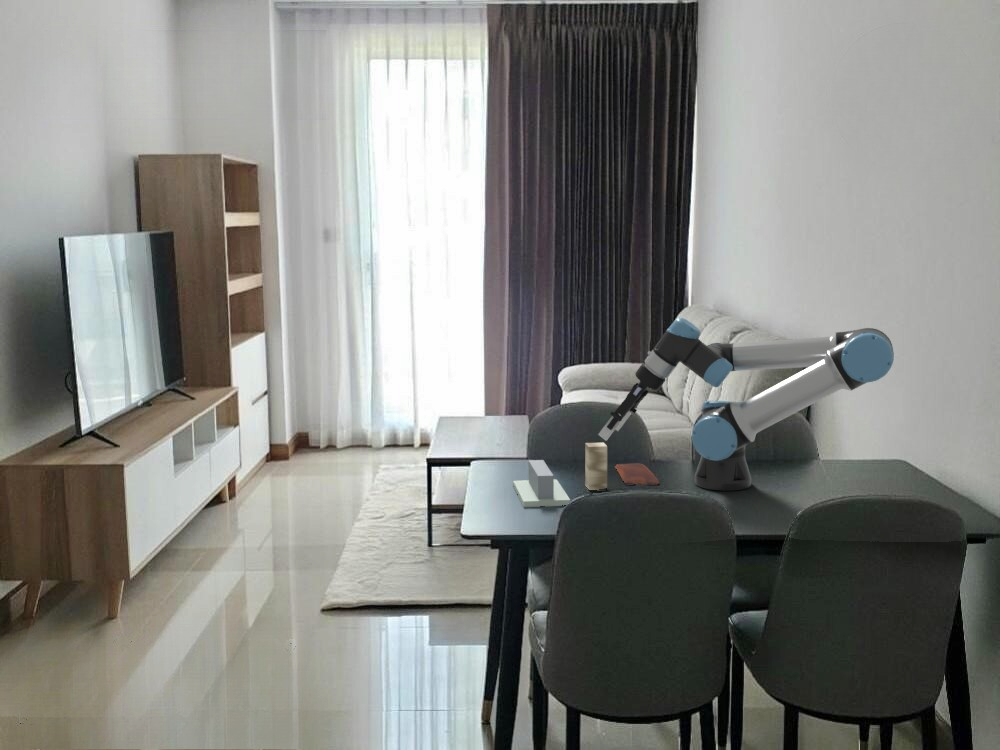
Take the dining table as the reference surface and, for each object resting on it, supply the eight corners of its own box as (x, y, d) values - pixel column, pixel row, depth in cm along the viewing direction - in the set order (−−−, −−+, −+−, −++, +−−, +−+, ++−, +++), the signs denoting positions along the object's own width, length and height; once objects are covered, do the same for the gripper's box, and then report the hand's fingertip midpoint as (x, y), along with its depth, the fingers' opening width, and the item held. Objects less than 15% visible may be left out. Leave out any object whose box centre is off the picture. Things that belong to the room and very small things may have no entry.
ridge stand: (513, 486, 299) (512, 459, 298) (556, 484, 301) (556, 457, 300) (523, 507, 278) (523, 478, 277) (570, 505, 279) (570, 476, 278)
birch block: (603, 485, 299) (603, 442, 298) (607, 490, 294) (607, 446, 293) (585, 486, 299) (585, 443, 297) (588, 490, 294) (588, 446, 292)
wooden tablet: (661, 487, 299) (661, 481, 299) (624, 487, 299) (624, 481, 299) (646, 465, 326) (646, 459, 325) (612, 465, 325) (612, 459, 325)
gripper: (652, 356, 300) (608, 416, 306) (633, 368, 277) (585, 432, 283) (674, 373, 299) (629, 432, 305) (657, 386, 275) (608, 450, 282)
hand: (608, 432), depth 294 cm, fingers open, 13 cm apart
